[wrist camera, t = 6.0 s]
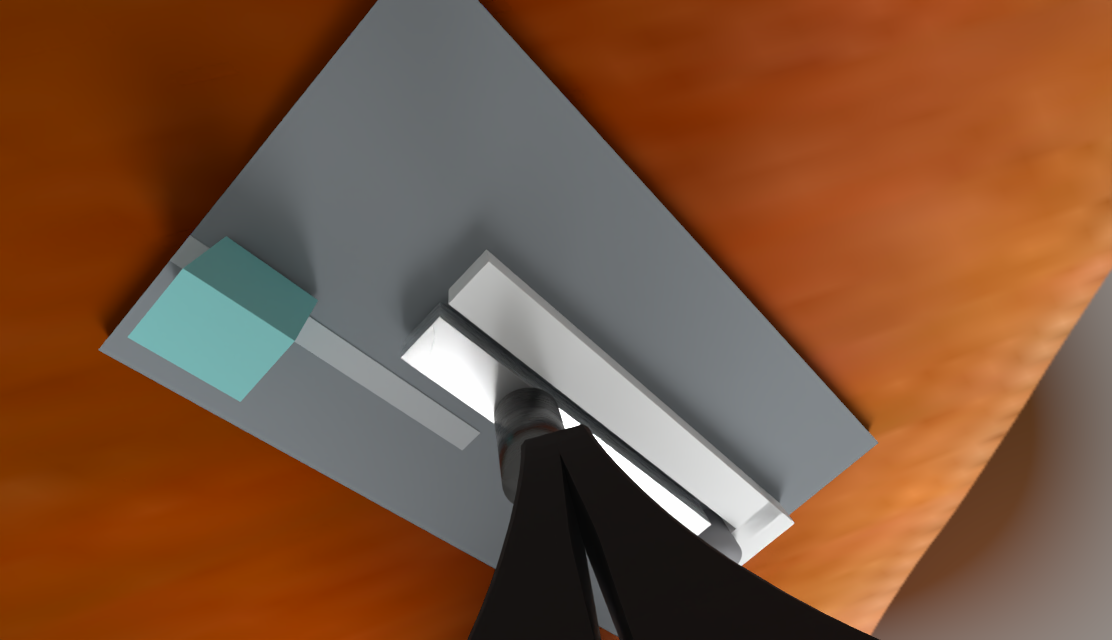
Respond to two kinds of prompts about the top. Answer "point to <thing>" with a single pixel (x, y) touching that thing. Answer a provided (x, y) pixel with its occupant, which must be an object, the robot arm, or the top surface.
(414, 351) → the black knobbed slide plate
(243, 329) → the teal block
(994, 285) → the top surface
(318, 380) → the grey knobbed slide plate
